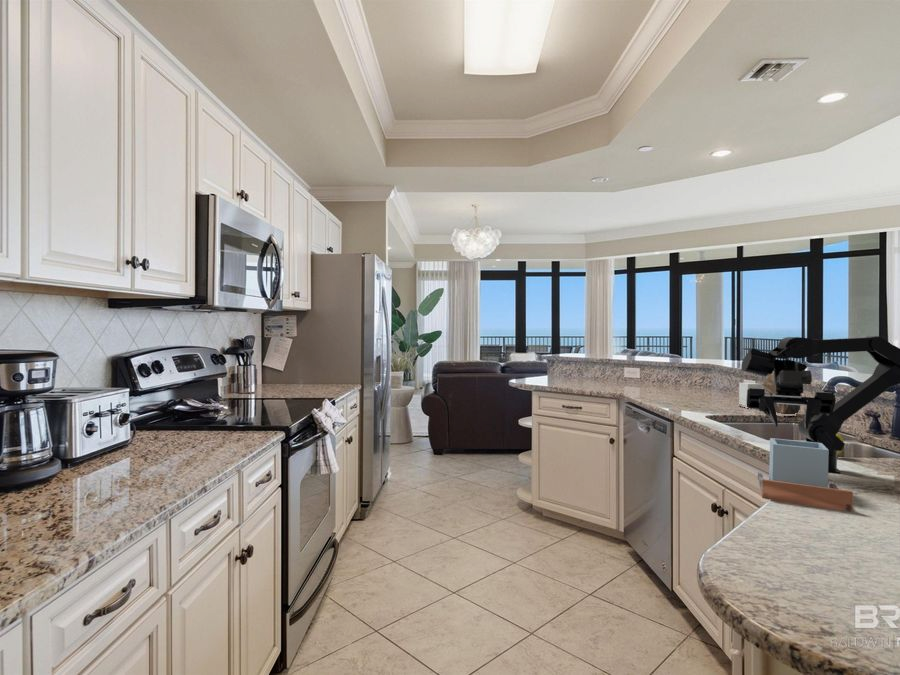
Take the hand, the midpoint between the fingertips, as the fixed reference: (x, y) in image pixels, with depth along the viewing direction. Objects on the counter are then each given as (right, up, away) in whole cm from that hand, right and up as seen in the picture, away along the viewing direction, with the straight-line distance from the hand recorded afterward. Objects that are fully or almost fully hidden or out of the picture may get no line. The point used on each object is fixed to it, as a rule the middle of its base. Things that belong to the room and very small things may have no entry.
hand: (791, 426), depth 122 cm
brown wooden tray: (-8, -13, -15) cm, 21 cm away
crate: (-6, -12, -11) cm, 17 cm away
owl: (+67, -14, +104) cm, 125 cm away
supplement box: (+67, -14, +126) cm, 143 cm away
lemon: (+29, -14, +24) cm, 40 cm away
